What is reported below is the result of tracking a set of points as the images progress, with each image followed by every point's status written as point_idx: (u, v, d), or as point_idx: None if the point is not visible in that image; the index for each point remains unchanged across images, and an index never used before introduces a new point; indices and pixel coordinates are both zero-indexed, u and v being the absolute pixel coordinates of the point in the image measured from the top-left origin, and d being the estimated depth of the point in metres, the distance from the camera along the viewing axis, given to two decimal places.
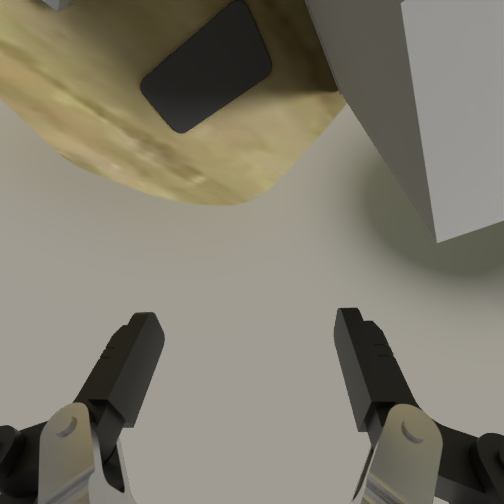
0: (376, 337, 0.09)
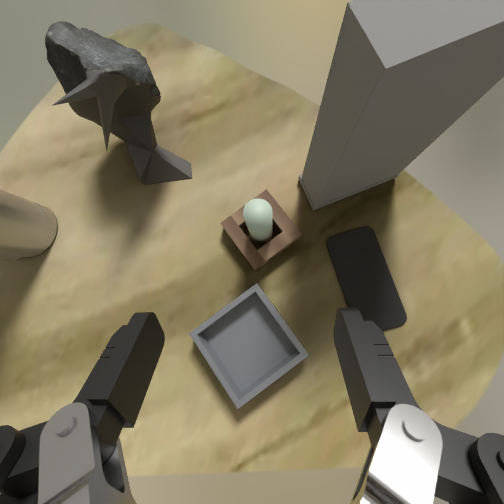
0: (376, 337, 0.09)
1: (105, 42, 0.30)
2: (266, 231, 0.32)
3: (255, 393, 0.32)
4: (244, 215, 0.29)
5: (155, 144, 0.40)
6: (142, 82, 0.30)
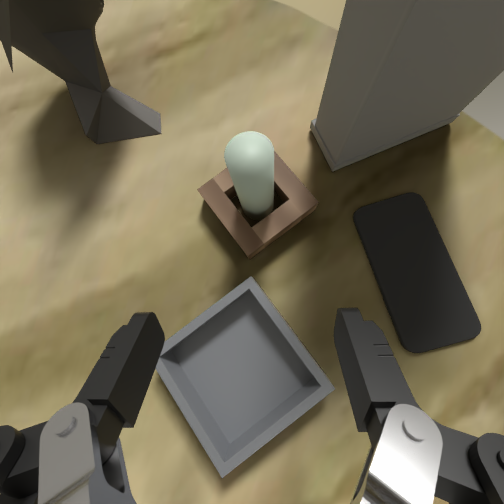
0: (376, 337, 0.09)
1: None
2: (264, 192, 0.20)
3: (250, 451, 0.20)
4: (226, 159, 0.17)
5: (106, 83, 0.28)
6: None
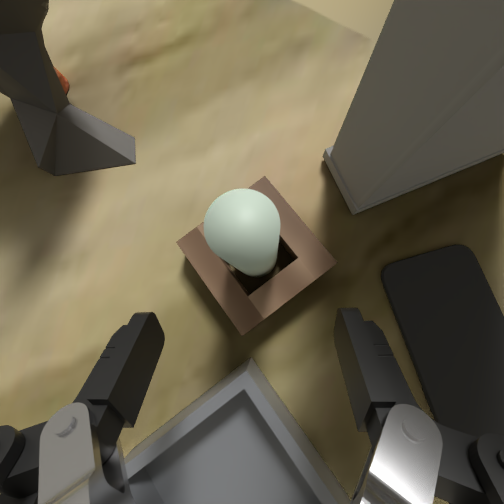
0: (376, 337, 0.09)
1: None
2: (265, 265, 0.14)
3: None
4: (207, 233, 0.11)
5: (63, 101, 0.22)
6: None
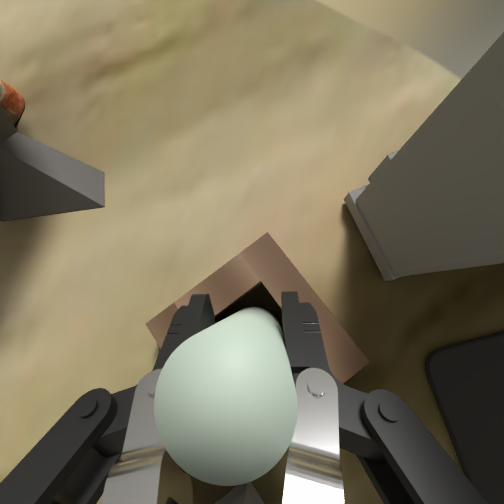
0: (309, 316, 0.10)
1: None
2: None
3: None
4: (160, 415, 0.06)
5: (7, 129, 0.17)
6: None
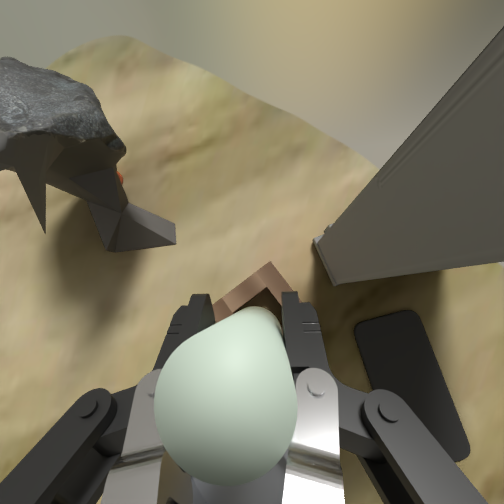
0: (309, 316, 0.10)
1: (36, 78, 0.20)
2: None
3: None
4: (160, 415, 0.06)
5: (125, 203, 0.30)
6: (90, 137, 0.20)
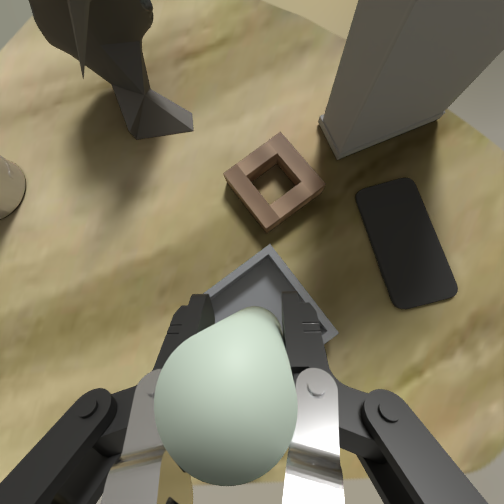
0: (309, 316, 0.10)
1: None
2: None
3: None
4: (160, 415, 0.06)
5: (147, 87, 0.32)
6: None
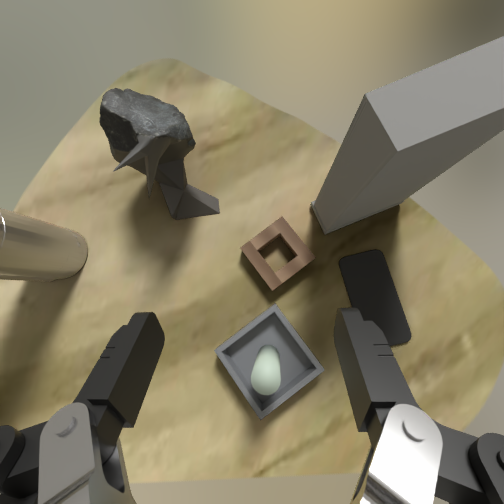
0: (376, 337, 0.09)
1: (148, 102, 0.33)
2: None
3: (276, 405, 0.35)
4: (252, 381, 0.29)
5: (186, 183, 0.43)
6: (183, 138, 0.33)
